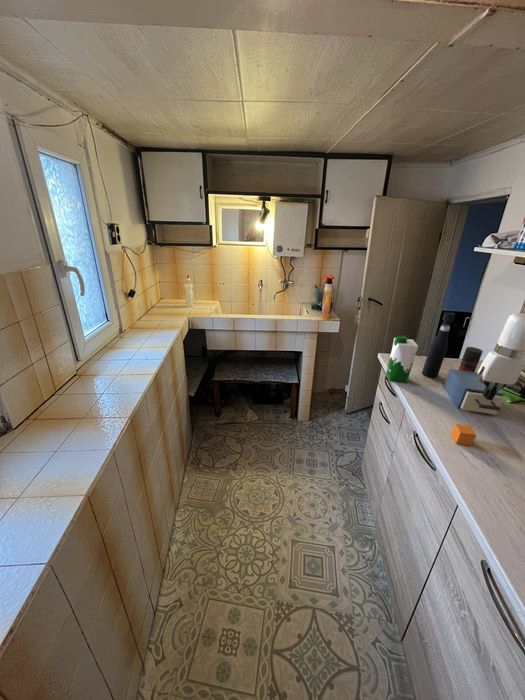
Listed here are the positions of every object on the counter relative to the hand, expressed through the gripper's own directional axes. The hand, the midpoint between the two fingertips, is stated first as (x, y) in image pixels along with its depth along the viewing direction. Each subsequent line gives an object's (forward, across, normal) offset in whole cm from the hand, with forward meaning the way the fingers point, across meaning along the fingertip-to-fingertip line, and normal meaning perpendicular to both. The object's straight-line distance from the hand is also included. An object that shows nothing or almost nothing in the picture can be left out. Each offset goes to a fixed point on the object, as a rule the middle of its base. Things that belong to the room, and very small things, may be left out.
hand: (487, 397), depth 99 cm
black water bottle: (+9, +8, -29) cm, 32 cm away
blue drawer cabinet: (+8, -1, -11) cm, 14 cm away
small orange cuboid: (+8, +11, +16) cm, 21 cm away
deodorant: (+8, -6, -29) cm, 31 cm away
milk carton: (+9, +24, -21) cm, 34 cm away
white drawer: (+7, -1, -7) cm, 10 cm away
